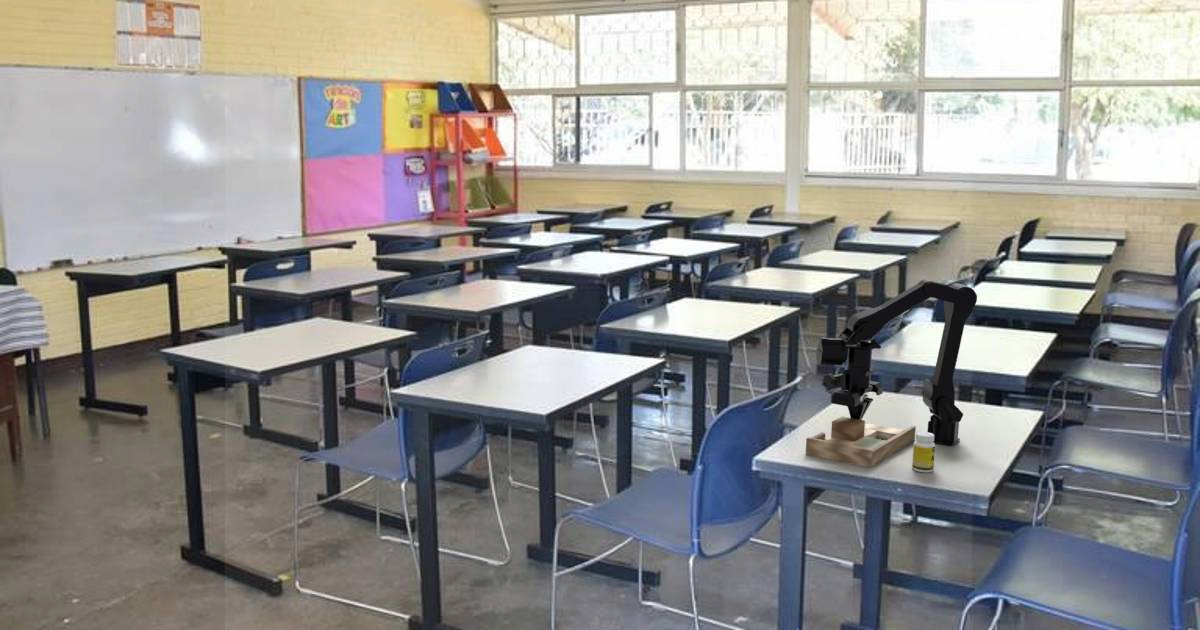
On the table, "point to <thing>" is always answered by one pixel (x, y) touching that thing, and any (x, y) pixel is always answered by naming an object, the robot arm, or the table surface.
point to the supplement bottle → (923, 452)
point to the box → (861, 445)
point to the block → (848, 429)
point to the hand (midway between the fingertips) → (855, 426)
